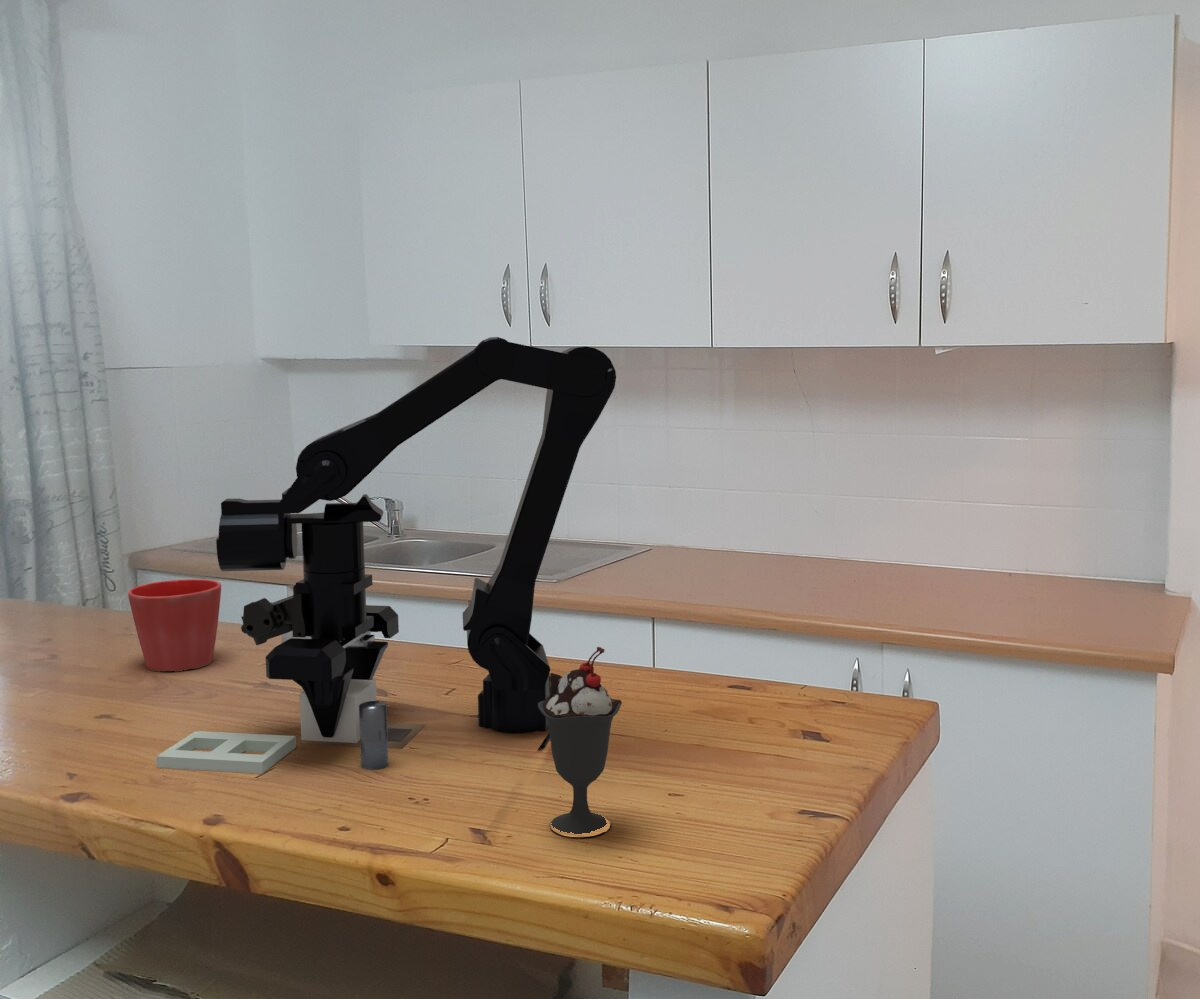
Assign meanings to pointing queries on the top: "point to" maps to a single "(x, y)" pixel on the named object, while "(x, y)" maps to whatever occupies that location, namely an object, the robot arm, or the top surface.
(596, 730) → the sundae
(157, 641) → the flower pot
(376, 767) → the peg
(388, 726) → the board
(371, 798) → the top surface
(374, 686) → the white rectangular block
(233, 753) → the board
